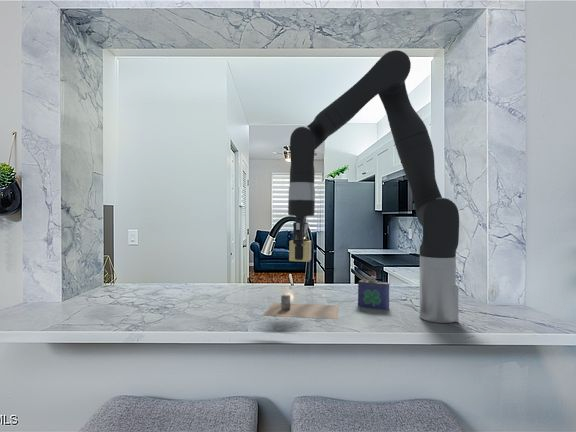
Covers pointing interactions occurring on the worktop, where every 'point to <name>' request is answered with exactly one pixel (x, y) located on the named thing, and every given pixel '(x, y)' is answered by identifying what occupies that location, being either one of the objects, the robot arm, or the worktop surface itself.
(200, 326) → the worktop surface
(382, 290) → the clover print carton
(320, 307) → the bolt base
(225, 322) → the worktop surface
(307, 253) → the cap
